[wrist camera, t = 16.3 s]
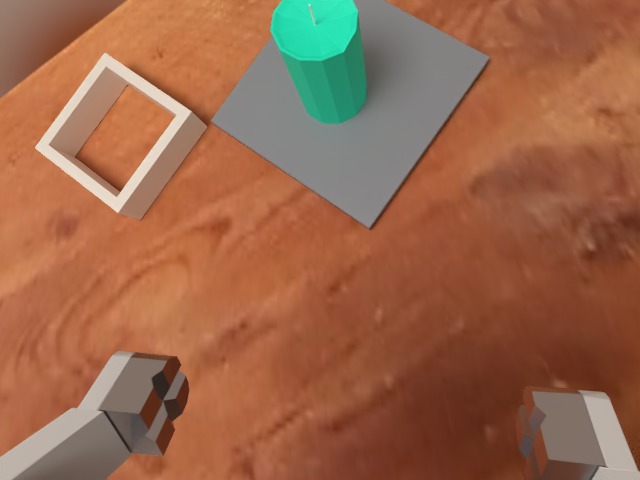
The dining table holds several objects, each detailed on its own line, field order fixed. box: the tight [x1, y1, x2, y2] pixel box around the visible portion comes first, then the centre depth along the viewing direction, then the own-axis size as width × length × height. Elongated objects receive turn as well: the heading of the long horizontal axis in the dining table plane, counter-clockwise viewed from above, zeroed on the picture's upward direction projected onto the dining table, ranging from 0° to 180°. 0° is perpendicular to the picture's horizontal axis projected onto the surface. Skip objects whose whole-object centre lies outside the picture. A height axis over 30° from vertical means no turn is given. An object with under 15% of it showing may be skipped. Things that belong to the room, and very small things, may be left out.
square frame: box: [35, 53, 207, 220], centre depth 42 cm, size 11×11×4 cm
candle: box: [270, 0, 367, 124], centre depth 34 cm, size 6×6×12 cm
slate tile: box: [211, 0, 490, 230], centre depth 41 cm, size 18×18×1 cm
